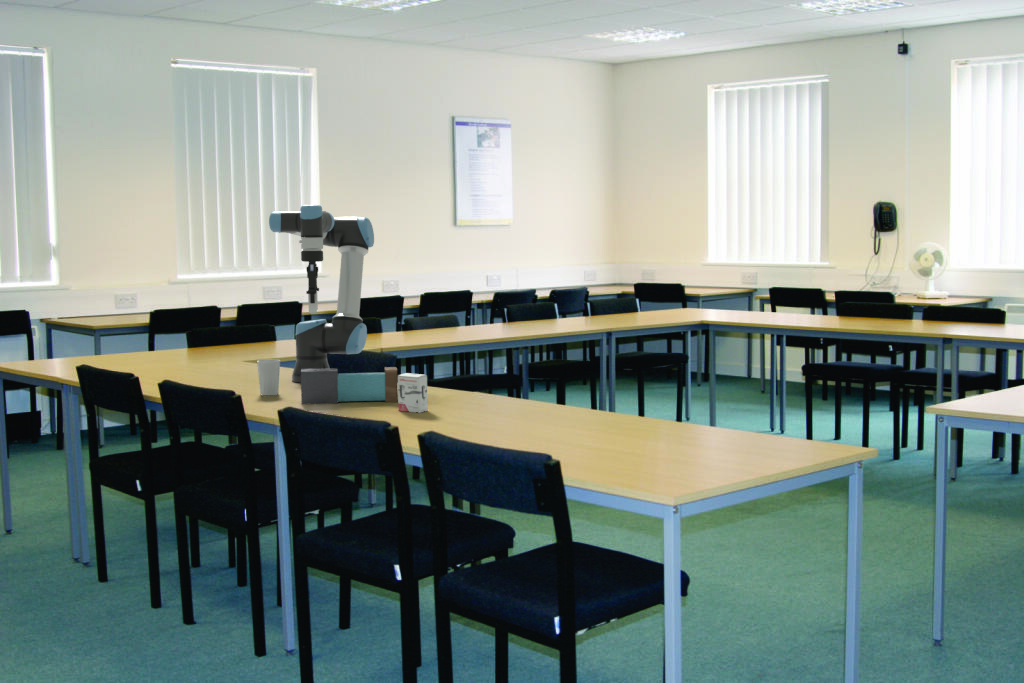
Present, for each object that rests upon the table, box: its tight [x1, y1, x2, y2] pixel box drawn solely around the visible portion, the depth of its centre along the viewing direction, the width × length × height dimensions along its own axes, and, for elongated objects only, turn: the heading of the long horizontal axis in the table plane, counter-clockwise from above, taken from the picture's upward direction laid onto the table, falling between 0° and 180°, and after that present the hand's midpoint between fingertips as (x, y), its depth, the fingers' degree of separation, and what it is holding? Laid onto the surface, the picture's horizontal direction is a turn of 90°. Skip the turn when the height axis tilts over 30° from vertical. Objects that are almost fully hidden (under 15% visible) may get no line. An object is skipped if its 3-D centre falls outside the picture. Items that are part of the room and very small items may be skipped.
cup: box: [256, 358, 281, 396], centre depth 384 cm, size 8×8×12 cm
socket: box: [384, 366, 398, 403], centre depth 371 cm, size 7×4×11 cm, turn 9°
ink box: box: [397, 372, 429, 414], centre depth 350 cm, size 9×5×12 cm, turn 62°
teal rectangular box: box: [337, 371, 386, 402], centre depth 369 cm, size 4×22×9 cm, turn 99°
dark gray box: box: [300, 367, 339, 405], centre depth 367 cm, size 7×12×11 cm, turn 99°
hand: (313, 311), depth 378 cm, fingers open, 13 cm apart
